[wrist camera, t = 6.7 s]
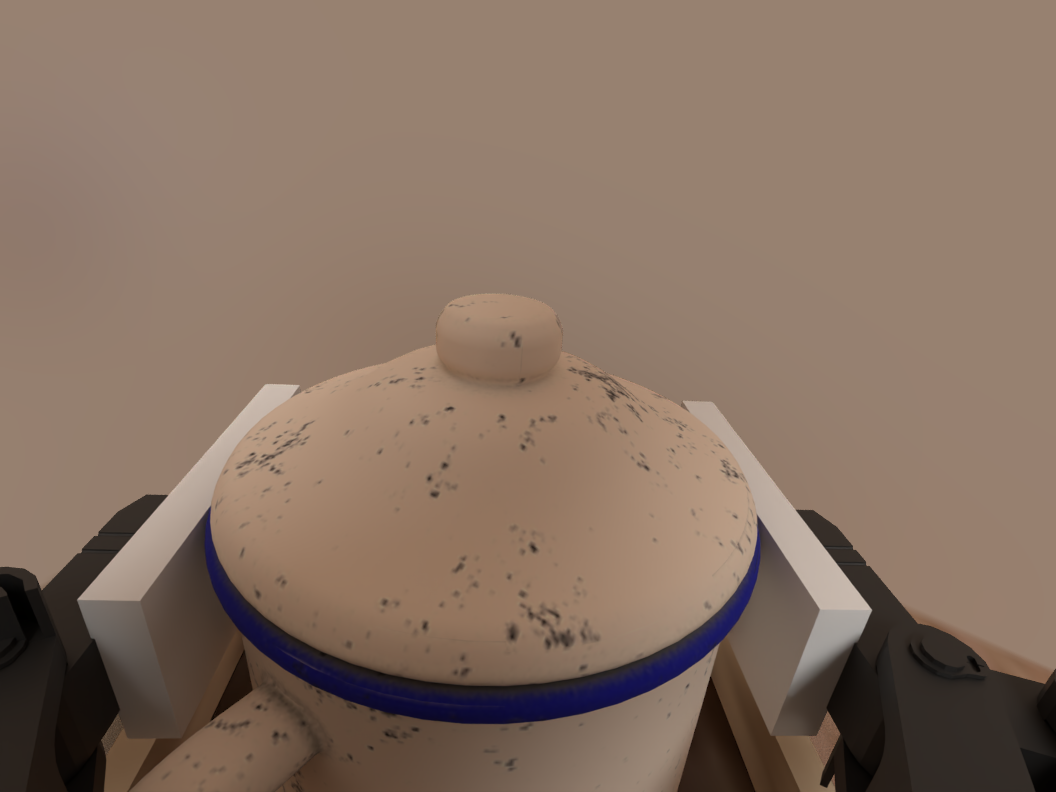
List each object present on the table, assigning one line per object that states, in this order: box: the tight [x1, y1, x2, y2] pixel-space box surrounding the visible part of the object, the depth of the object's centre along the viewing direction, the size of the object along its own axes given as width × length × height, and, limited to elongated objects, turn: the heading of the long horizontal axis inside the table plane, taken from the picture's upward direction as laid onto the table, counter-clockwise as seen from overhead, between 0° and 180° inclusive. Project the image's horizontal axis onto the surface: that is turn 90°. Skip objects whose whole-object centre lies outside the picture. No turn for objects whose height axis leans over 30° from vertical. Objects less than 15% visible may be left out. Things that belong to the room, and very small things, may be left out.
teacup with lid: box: [129, 294, 760, 792], centre depth 10 cm, size 12×9×12 cm
